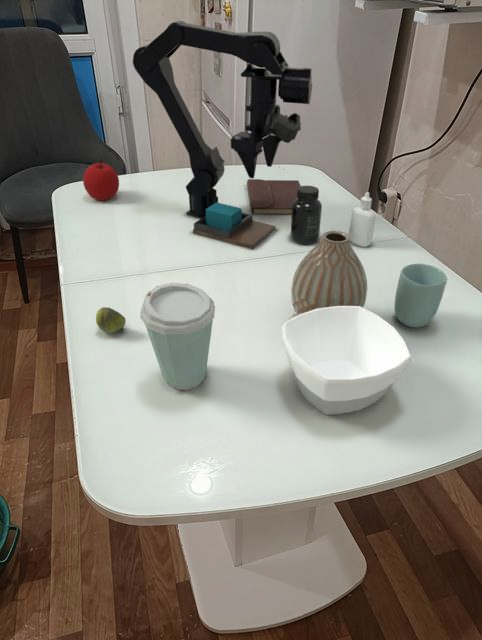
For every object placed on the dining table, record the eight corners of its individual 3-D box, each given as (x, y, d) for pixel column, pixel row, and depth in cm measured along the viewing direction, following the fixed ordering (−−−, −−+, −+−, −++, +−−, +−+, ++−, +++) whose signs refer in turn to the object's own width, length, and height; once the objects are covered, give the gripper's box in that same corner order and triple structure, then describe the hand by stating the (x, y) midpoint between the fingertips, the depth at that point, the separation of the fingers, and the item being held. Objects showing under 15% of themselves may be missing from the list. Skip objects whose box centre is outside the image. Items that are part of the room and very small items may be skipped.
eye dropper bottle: (363, 236, 123) (371, 187, 115) (372, 247, 118) (381, 197, 111) (346, 237, 122) (353, 188, 114) (354, 248, 118) (362, 198, 110)
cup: (409, 337, 91) (422, 289, 85) (382, 315, 97) (392, 268, 90) (442, 326, 94) (456, 279, 88) (414, 305, 100) (426, 259, 93)
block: (231, 231, 120) (231, 215, 118) (206, 225, 122) (205, 209, 120) (241, 224, 124) (241, 208, 121) (216, 217, 126) (216, 202, 123)
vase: (305, 297, 101) (313, 213, 90) (369, 315, 96) (386, 229, 85) (277, 332, 91) (282, 242, 80) (346, 354, 87) (362, 263, 76)
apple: (89, 190, 139) (82, 153, 133) (123, 190, 140) (117, 153, 134) (83, 204, 132) (76, 165, 126) (119, 204, 133) (113, 165, 127)
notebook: (298, 185, 147) (299, 179, 146) (309, 214, 132) (309, 207, 130) (246, 185, 146) (247, 178, 145) (251, 214, 131) (251, 206, 129)
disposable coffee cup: (226, 362, 84) (224, 284, 75) (205, 407, 76) (201, 326, 67) (165, 352, 86) (156, 274, 76) (139, 394, 78) (125, 313, 68)
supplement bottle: (318, 233, 123) (324, 184, 116) (318, 246, 118) (324, 196, 110) (290, 231, 124) (294, 182, 116) (288, 244, 118) (292, 193, 111)
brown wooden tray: (193, 233, 121) (192, 223, 119) (219, 215, 130) (218, 205, 128) (252, 249, 116) (252, 239, 114) (275, 229, 124) (276, 219, 123)
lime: (96, 326, 91) (92, 303, 88) (124, 321, 92) (120, 298, 89) (100, 341, 88) (95, 317, 84) (128, 335, 89) (125, 311, 86)
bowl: (313, 442, 71) (320, 393, 65) (262, 365, 84) (264, 318, 78) (417, 408, 77) (432, 361, 71) (355, 341, 90) (363, 296, 84)
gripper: (277, 115, 102) (274, 191, 111) (313, 97, 115) (307, 166, 125) (229, 107, 106) (229, 181, 115) (269, 90, 119) (266, 158, 128)
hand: (260, 172), depth 121 cm, fingers open, 9 cm apart
